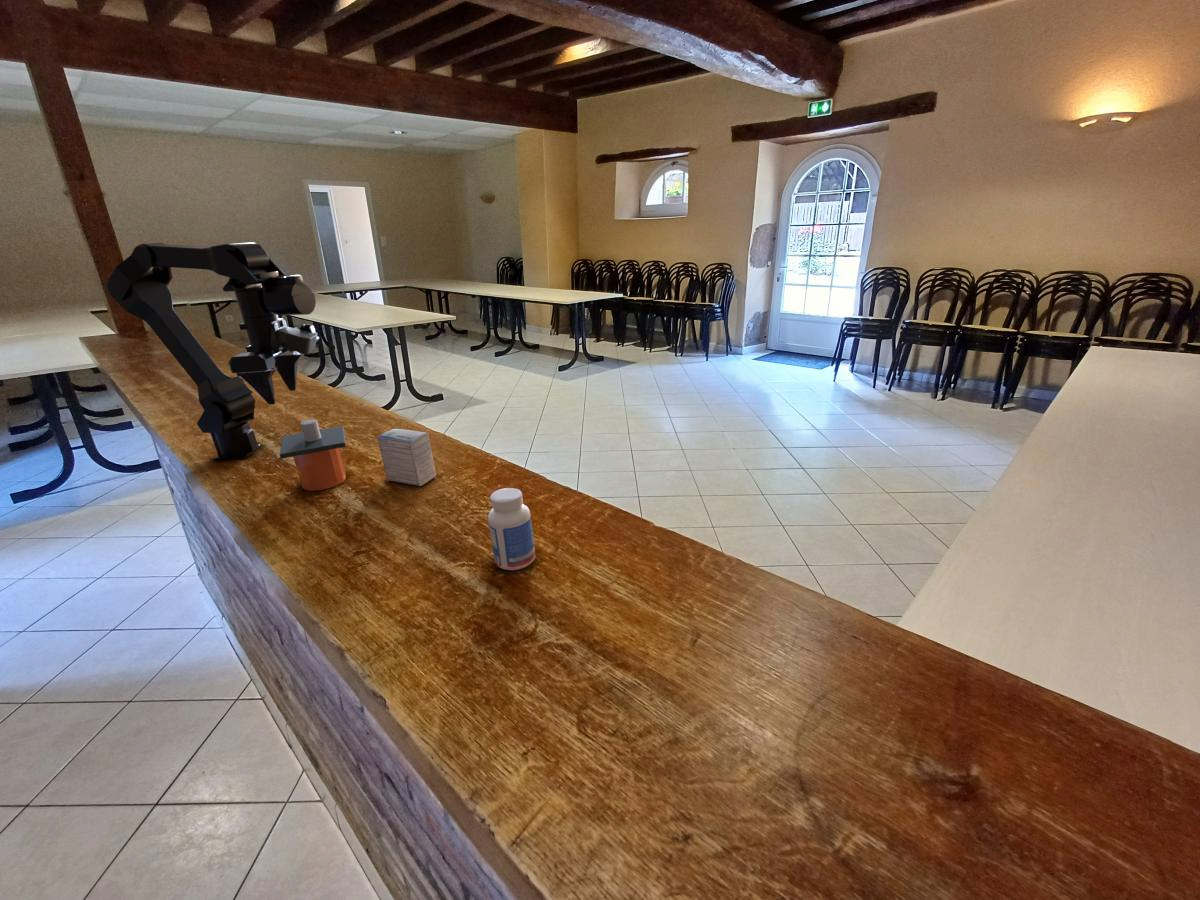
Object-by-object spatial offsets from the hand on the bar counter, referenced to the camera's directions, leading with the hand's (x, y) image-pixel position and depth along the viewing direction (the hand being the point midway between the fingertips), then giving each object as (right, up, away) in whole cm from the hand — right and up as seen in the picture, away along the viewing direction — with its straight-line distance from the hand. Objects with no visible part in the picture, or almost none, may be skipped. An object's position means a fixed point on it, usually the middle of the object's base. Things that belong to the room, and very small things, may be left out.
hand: (283, 397), depth 107 cm
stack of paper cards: (+28, -16, -8) cm, 33 cm away
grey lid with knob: (+11, -9, -10) cm, 18 cm away
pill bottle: (+50, -25, -34) cm, 66 cm away
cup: (+12, -16, -7) cm, 21 cm away
